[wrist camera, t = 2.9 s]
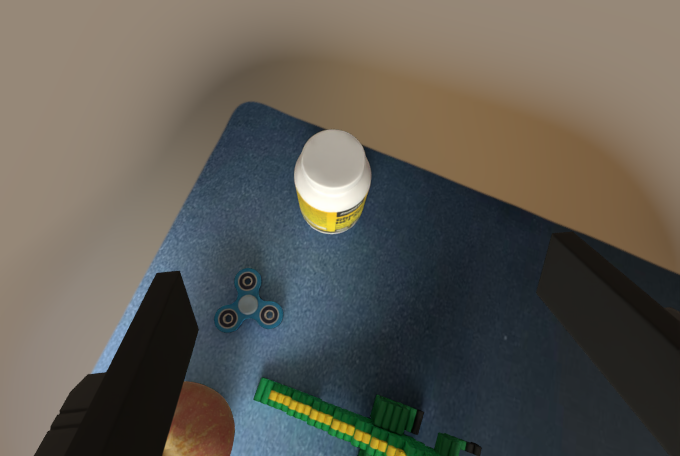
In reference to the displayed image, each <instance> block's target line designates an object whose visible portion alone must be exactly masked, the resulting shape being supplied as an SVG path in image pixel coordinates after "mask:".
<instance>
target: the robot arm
mask: <svg viewBox="0 0 680 456" xmlns="http://www.w3.org/2000/svg"><path fill="white" fill-rule="evenodd" d="M536 293H537V295H538V296H539V297H540V298H541V299H542V301H543V302H544V303H545V304H546V306H547V307H548V308H549V309H550V310H551V312H552V313H553V314H554V315H555V317H556V318H557V319H558V320H559V321H560V323H561V324H562V325H563V326H564V327H565V329H566V330H567V331H568V332H569V334H570V335H571V336H572V337H573V338H574V340H575V341H576V342H577V343H578V345H579V346H580V347H581V348H582V349H583V351H584V352H585V353H586V354H587V355H588V357H589V358H590V359H591V360H592V362H593V363H594V364H595V365H596V366H597V368H598V369H599V370H600V371H601V373H602V374H603V375H604V376H605V377H606V379H607V380H608V381H609V382H610V384H611V385H612V386H613V387H614V388H615V390H616V391H617V392H618V393H619V394H620V396H621V397H622V398H623V399H624V401H625V402H626V403H627V404H628V405H629V407H630V408H631V409H632V410H633V412H634V413H635V414H636V415H637V416H638V418H639V419H640V420H641V421H642V423H643V424H644V425H645V426H646V427H647V429H648V430H649V431H650V432H651V433H652V435H653V436H654V437H655V438H656V440H657V441H658V442H659V443H660V444H661V446H662V447H663V448H664V449H665V451H666V452H667V453H668V454H669V455H670V456H680V312H679V311H677V310H675V309H673V308H671V307H669V308H663V307H662V306H661V305H660V304H658V303H657V302H656V301H655V300H654V299H652V298H651V297H650V296H649V295H648V294H646V293H645V292H644V291H643V290H642V289H640V288H639V287H638V286H637V285H636V284H635V283H633V282H632V281H631V280H630V279H629V278H627V277H626V276H625V275H624V274H623V273H621V272H620V271H619V270H618V269H617V268H615V267H614V266H613V265H612V264H611V263H609V262H608V261H607V260H606V259H605V258H603V257H602V256H601V255H600V254H599V253H598V252H596V251H595V250H594V249H593V248H592V247H590V246H589V245H588V244H587V243H586V242H584V241H583V240H582V239H581V238H580V237H578V236H577V235H576V234H575V233H574V232H563V233H553V234H552V236H551V239H550V243H549V247H548V251H547V254H546V258H545V262H544V266H543V269H542V273H541V277H540V280H539V284H538V288H537V292H536ZM198 331H199V328H198V325H197V322H196V319H195V316H194V313H193V310H192V307H191V304H190V301H189V298H188V295H187V292H186V289H185V286H184V282H183V279H182V276H181V273H180V271H171V272H161V273H156V275H155V277H154V279H153V281H152V283H151V285H150V287H149V289H148V291H147V293H146V295H145V297H144V299H143V301H142V303H141V305H140V307H139V309H138V311H137V313H136V315H135V317H134V319H133V321H132V322H131V324H130V326H129V328H128V330H127V332H126V334H125V336H124V338H123V340H122V342H121V344H120V346H119V348H118V350H117V352H116V354H115V356H114V358H113V360H112V362H111V364H110V366H109V368H108V370H107V372H105V373H96V374H88V375H87V376H86V377H85V378H84V379H83V380H82V381H81V382H80V383H79V384H78V385H77V386H76V387H75V388H74V389H73V390H72V391H71V392H70V393H69V395H68V397H67V399H66V400H65V402H64V404H63V406H62V408H61V409H60V414H59V415H57V416H56V418H55V420H54V421H53V423H52V425H51V429H50V431H48V432H47V434H46V435H45V437H44V439H43V441H42V442H41V444H40V446H39V448H38V450H37V451H36V453H35V455H34V456H162V455H163V452H164V448H165V445H166V441H167V438H168V434H169V431H170V427H171V424H172V421H173V417H174V414H175V410H176V407H177V403H178V400H179V396H180V393H181V390H182V386H183V383H184V379H185V376H186V372H187V369H188V366H189V362H190V359H191V355H192V352H193V348H194V345H195V341H196V338H197V335H198Z"/></svg>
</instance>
